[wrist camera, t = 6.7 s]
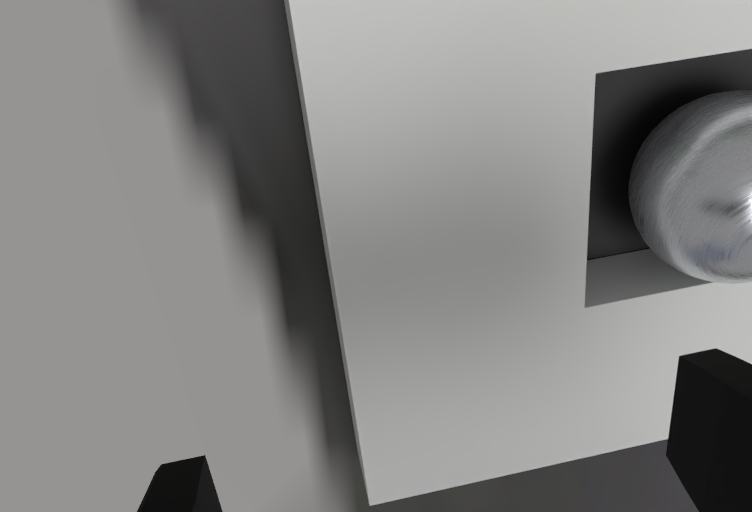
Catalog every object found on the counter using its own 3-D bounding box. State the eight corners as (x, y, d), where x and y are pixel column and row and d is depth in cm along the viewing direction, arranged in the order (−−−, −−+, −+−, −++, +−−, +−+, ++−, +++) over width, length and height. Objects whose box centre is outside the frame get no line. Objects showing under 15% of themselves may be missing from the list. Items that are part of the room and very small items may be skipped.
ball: (648, 330, 17) (588, 209, 21) (835, 316, 18) (744, 199, 21) (708, 171, 14) (625, 60, 18) (939, 157, 14) (809, 50, 18)
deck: (762, 363, 24) (850, 439, 21) (357, 450, 23) (379, 549, 19) (868, -147, 17) (1034, -162, 13) (272, -72, 15) (282, -66, 12)
